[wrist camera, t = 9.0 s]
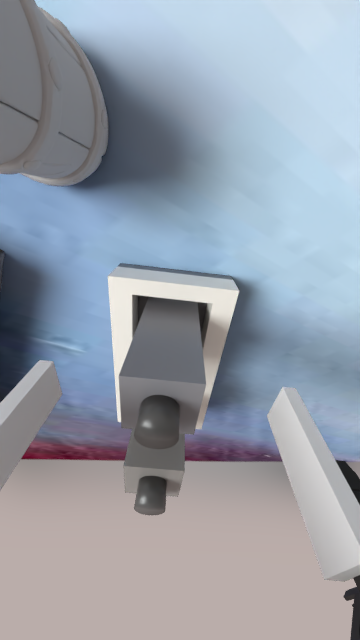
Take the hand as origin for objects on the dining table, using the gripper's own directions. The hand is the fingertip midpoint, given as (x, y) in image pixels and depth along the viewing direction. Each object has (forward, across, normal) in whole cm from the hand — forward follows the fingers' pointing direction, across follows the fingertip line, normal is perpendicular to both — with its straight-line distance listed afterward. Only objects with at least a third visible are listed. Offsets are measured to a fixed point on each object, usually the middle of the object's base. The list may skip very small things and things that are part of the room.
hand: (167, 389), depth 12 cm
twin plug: (+9, 0, -9) cm, 13 cm away
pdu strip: (+10, 0, -5) cm, 11 cm away
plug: (+9, 0, 0) cm, 9 cm away
